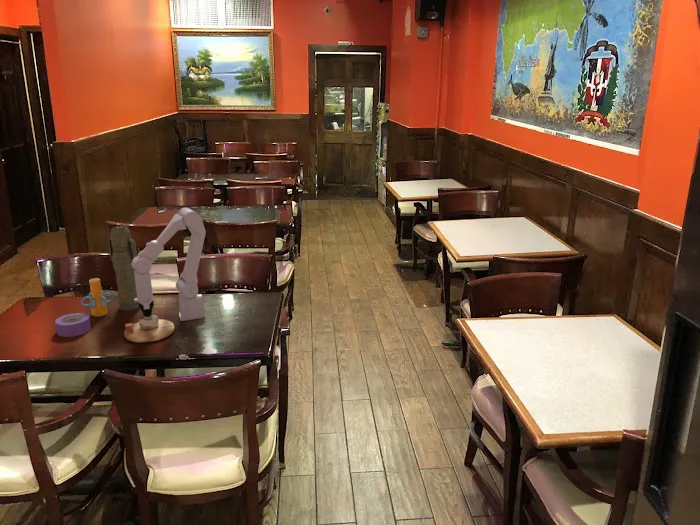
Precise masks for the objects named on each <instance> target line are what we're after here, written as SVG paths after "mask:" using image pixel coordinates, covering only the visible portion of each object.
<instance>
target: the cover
mask: <svg viewBox="0 0 700 525" xmlns="http://www.w3.org/2000/svg"><path fill="white" fill-rule="evenodd" d="M158 319H159V317H158V315H155V314H152V315H146V316H144V315H142V316H140V317H139V318H138V322H139V327H140V330H143V331H150V330H154V329H156V328H158V327H159V322H158Z"/></svg>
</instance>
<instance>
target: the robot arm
mask: <svg viewBox="0 0 700 525" xmlns="http://www.w3.org/2000/svg"><path fill="white" fill-rule="evenodd" d="M166 225H167V226H166V227H165V228H164V229H163V231H162V232H161V233H160V234H159V236H158V237H157V238H156V239H153V240H150V242H146V244H145V248H143V249H142V251H141V252H139V253H137V257H135V258H134V259H133V260H132V263H131V266H132V267H133V269H135V270H134V275H135V284H136V291H137V298H135V299H134V301H135V302H139V303H138V306H139V310H140V311H141V312H142V313H141V314H142V316H146V315H153V308H154V306H155V303H154V299H155V298H154V297H155V296H154V294H153V286H152V276H151V273H150V271H151V269H152V264H153V263H154V262H155V261H156V260H157V259H158V258H159V256H160V255H161V254H162V253H163V251H164V246H165V244H166V243H167V242H168V241H169V240H170V239H171V238H173V236H175V234H176V233H177V232H178V231H182V230H183V231H184V230H187V229H188V230H189V232H190V233H191V234H190V239H189V244H188V249H187V253H186V257H185V263H184V266H183V270H182V272H181V273H180V276H179V278H178V279H177V281H176V283H175V288H176V290H177V291H178V305H179V313H178V315H179V319H180V322H183V321H185V322H186V321H190V320H196V319H197V320H198V319H204V318H206V317H205V316H206V314H205V310H206V309H205V305H204V298H203V294H202V293H199V287H198V283H199V280H198V275H197V274H198V271H199V270H198V269H199V266H200V261H201V257H202V251H203V248H204V242H205V238H206V233H207V232H206V228H205V225H204V222H203V217H202V216H201V215H200V214H199V213H198V212H196V211H194V210H192V209H191V208H189V207H182V208H180V209H179V210H178V211H177V213H175V214H174V215H173V217H172V218H171V220H170V221H169V223H168V224H166Z"/></svg>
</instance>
